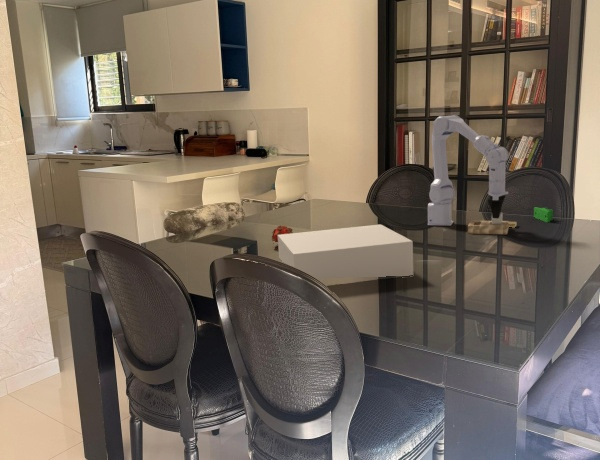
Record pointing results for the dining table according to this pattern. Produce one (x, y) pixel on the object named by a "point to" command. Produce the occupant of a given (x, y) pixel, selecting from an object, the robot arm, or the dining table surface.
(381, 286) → the dining table surface
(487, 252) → the dining table surface
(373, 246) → the box
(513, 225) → the tan rectangular block
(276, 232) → the dragon fruit
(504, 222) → the socket block
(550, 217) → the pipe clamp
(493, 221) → the square bit
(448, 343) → the dining table surface
